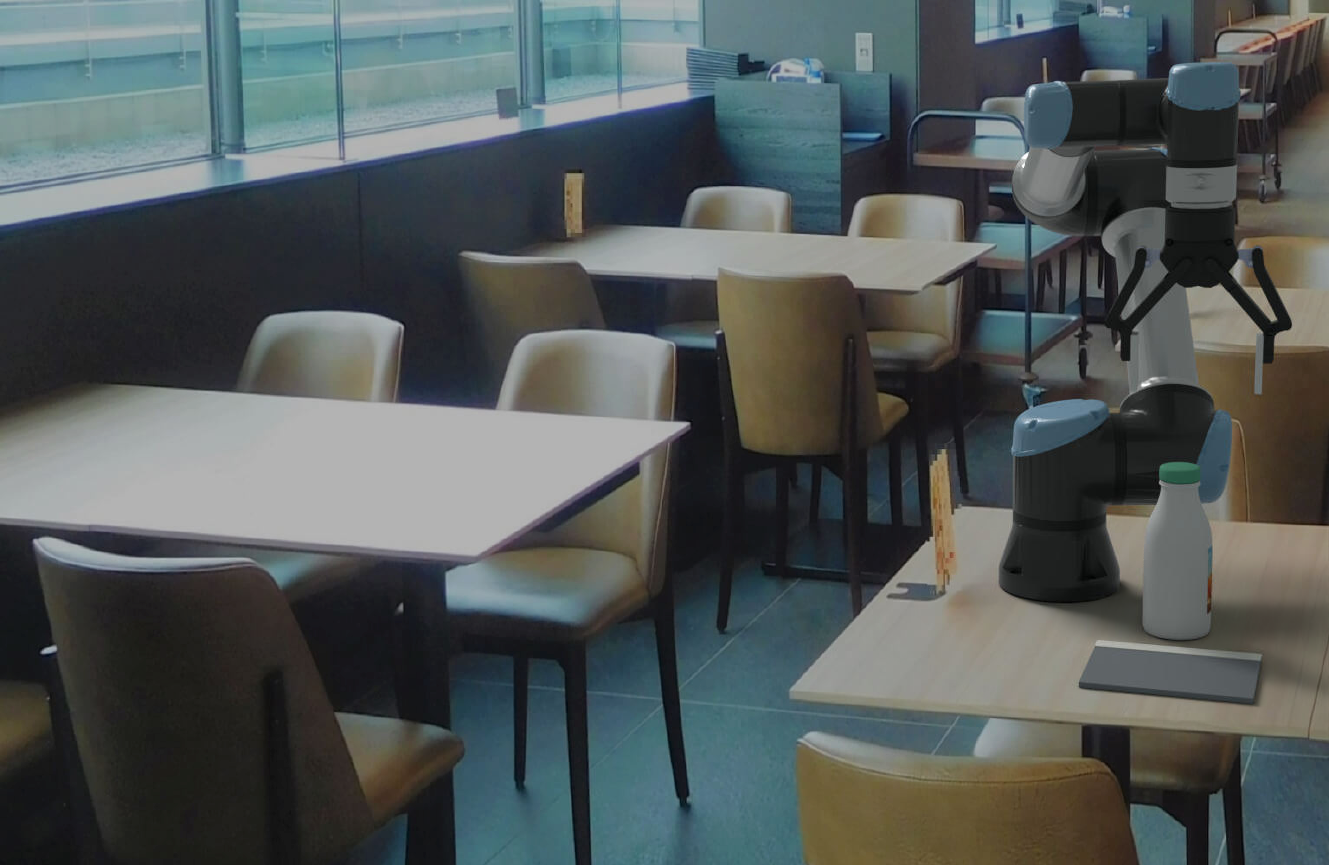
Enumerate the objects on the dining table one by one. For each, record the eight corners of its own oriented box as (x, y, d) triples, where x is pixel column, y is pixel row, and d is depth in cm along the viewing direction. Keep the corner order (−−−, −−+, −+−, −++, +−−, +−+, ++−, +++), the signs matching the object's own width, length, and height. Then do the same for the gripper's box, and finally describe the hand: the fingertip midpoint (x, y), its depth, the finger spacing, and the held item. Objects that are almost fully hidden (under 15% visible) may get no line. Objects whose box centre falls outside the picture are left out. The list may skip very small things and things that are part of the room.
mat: (1078, 687, 193) (1078, 680, 193) (1097, 645, 205) (1097, 639, 205) (1253, 703, 186) (1253, 697, 186) (1261, 660, 198) (1261, 654, 198)
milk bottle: (1200, 645, 204) (1204, 476, 199) (1133, 636, 208) (1136, 470, 203) (1218, 625, 210) (1223, 461, 206) (1153, 616, 214) (1156, 455, 210)
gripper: (1082, 208, 199) (1080, 394, 203) (1320, 207, 191) (1312, 400, 196) (1088, 201, 206) (1086, 381, 210) (1318, 199, 198) (1310, 385, 203)
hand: (1195, 390), depth 203 cm, fingers open, 13 cm apart
